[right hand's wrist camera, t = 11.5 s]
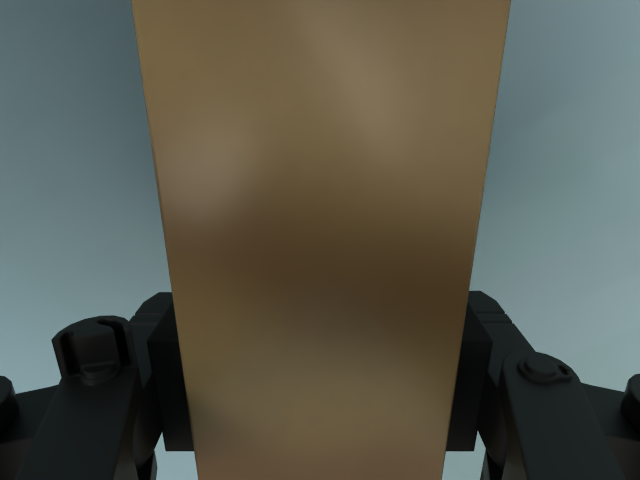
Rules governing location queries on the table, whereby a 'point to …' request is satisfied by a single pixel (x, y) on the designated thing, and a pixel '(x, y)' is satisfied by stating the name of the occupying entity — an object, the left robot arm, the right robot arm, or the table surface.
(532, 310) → the table surface
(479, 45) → the beam
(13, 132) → the table surface
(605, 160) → the table surface
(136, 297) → the table surface
